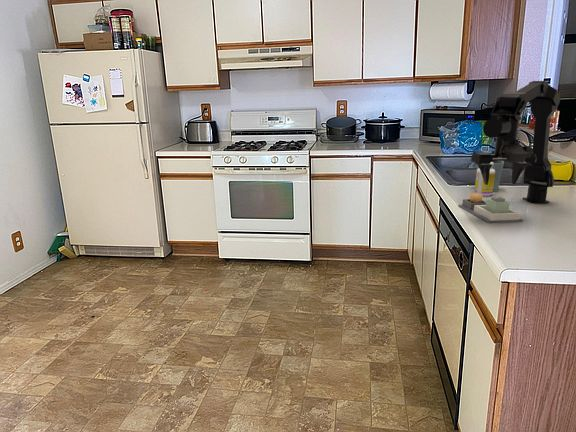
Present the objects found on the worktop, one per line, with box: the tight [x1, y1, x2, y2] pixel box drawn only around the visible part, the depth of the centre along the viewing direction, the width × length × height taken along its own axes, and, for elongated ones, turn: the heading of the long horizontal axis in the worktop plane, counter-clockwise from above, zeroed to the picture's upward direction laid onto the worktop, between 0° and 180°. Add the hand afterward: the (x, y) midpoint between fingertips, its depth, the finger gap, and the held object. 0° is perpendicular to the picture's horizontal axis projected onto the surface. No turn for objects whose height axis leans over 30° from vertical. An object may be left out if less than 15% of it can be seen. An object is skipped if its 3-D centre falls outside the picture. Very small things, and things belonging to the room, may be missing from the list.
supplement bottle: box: [473, 162, 495, 197], centre depth 174 cm, size 7×7×13 cm
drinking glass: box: [476, 161, 505, 192], centre depth 182 cm, size 10×10×12 cm
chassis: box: [457, 198, 523, 224], centre depth 149 cm, size 20×12×3 cm, turn 6°
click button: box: [469, 192, 484, 203], centre depth 154 cm, size 4×4×3 cm
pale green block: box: [485, 196, 511, 213], centre depth 145 cm, size 6×4×6 cm
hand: (499, 184), depth 143 cm, fingers open, 9 cm apart
